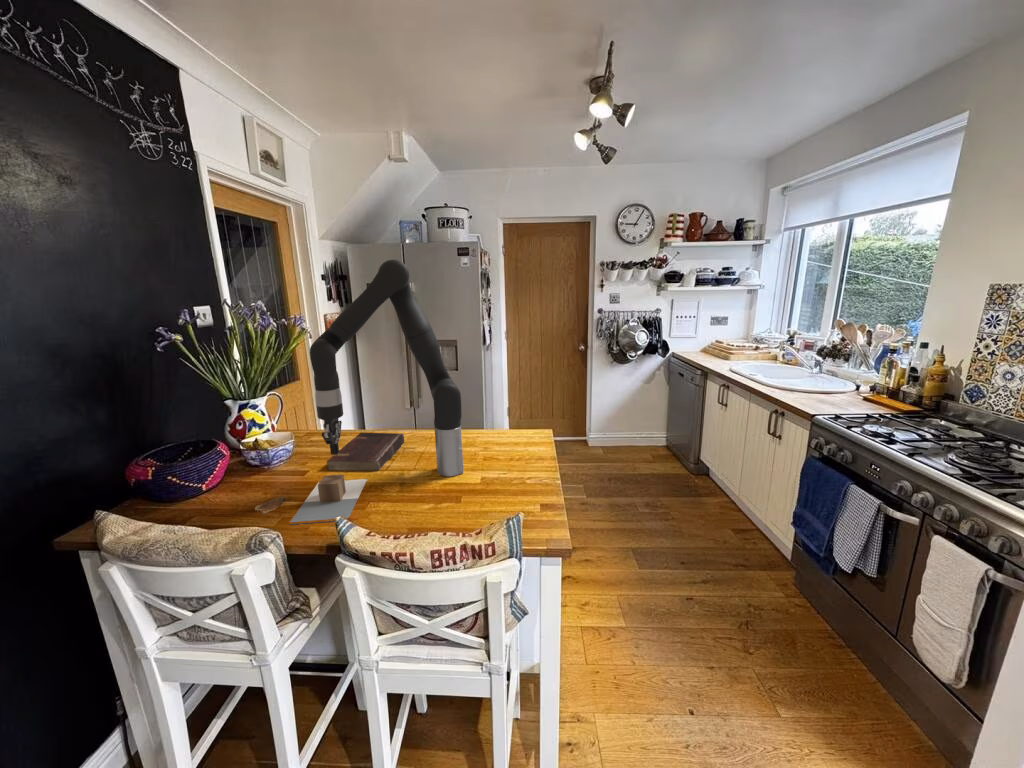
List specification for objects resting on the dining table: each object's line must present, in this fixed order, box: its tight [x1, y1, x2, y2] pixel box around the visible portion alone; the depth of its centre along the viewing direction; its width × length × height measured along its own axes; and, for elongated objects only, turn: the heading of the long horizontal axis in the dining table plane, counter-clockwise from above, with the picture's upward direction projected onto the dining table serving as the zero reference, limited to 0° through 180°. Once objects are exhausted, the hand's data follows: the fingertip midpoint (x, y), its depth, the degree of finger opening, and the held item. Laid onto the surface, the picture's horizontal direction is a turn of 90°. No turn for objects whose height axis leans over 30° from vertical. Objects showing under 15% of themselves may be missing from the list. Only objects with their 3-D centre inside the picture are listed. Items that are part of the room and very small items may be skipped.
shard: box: [254, 496, 287, 514], centre depth 125 cm, size 11×8×2 cm
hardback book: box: [326, 432, 405, 472], centre depth 160 cm, size 29×19×5 cm, turn 177°
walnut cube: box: [317, 474, 346, 503], centre depth 127 cm, size 6×6×6 cm
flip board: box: [289, 478, 368, 526], centre depth 127 cm, size 16×24×1 cm, turn 7°
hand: (335, 453), depth 132 cm, fingers closed
